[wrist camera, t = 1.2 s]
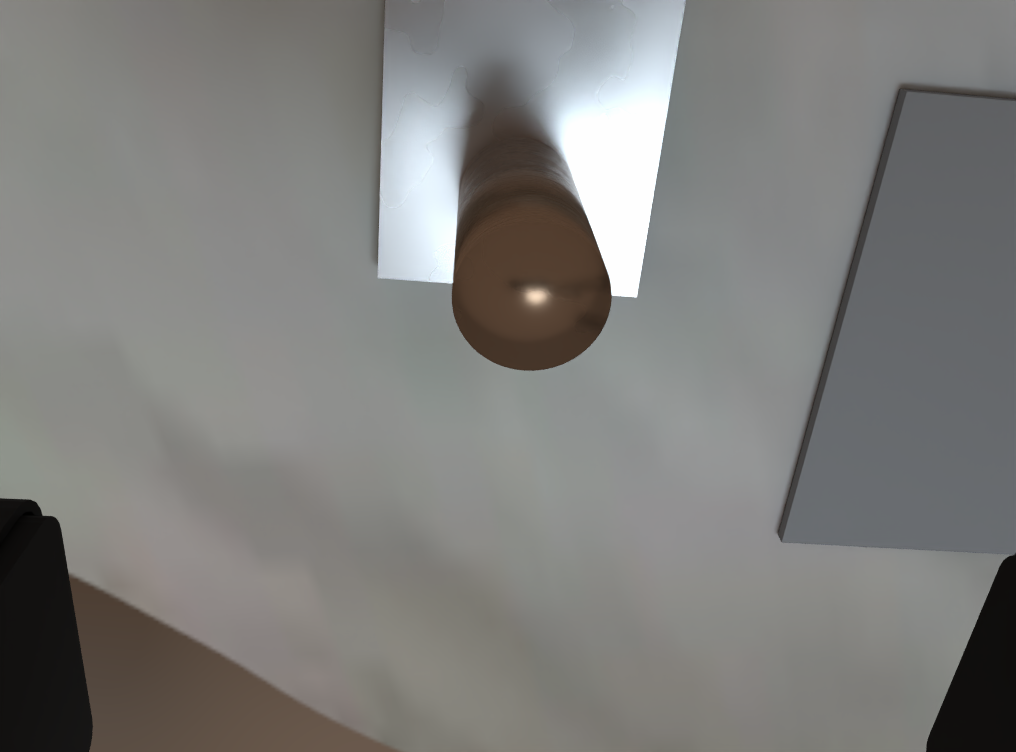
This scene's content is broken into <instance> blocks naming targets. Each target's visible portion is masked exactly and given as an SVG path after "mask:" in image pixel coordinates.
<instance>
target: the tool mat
mask: <svg viewBox="0 0 1016 752" xmlns="http://www.w3.org/2000/svg"><path fill="white" fill-rule="evenodd" d="M778 536H779V538H780V540H781V542H783V543H802V544H821V545H840V546H859V547H878V548H897V549H916V550H935V551H954V552H973V553H992V554H1011V555H1015V553H1016V99H1008V98H997V97H986V96H974V95H963V94H952V93H941V92H930V91H918V90H907V89H900V91H899V95H898V99H897V102H896V106H895V110H894V113H893V117H892V121H891V124H890V128H889V132H888V135H887V139H886V143H885V146H884V150H883V154H882V157H881V161H880V164H879V168H878V172H877V175H876V179H875V183H874V186H873V190H872V194H871V197H870V201H869V205H868V208H867V212H866V216H865V219H864V223H863V227H862V230H861V234H860V237H859V241H858V245H857V248H856V252H855V256H854V259H853V263H852V267H851V270H850V274H849V278H848V281H847V285H846V289H845V292H844V296H843V300H842V303H841V307H840V311H839V314H838V318H837V321H836V325H835V329H834V332H833V336H832V340H831V343H830V347H829V351H828V354H827V358H826V362H825V365H824V369H823V373H822V376H821V380H820V384H819V387H818V391H817V395H816V398H815V402H814V405H813V409H812V413H811V416H810V420H809V424H808V427H807V431H806V435H805V438H804V442H803V446H802V449H801V453H800V457H799V460H798V464H797V468H796V471H795V475H794V478H793V482H792V486H791V489H790V493H789V497H788V500H787V504H786V508H785V511H784V515H783V519H782V522H781V526H780V530H779V533H778Z"/></svg>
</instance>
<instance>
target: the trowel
mask: <svg viewBox="0 0 1016 752" xmlns="http://www.w3.org/2000/svg"><path fill="white" fill-rule="evenodd" d="M685 2H686V0H385V27H384V63H383V100H382V137H381V173H380V210H379V246H378V278H385V279H399V280H412V281H426V282H439V283H453V286H452V306H453V313H454V316H455V320H456V323H457V325H458V327H459V329H460V331H461V333H462V334H463V336H464V338H465V339H466V340H467V342H468V343H469V344H470V345H471V346H472V347H473V348H474V349H475V350H476V351H477V352H478V353H479V354H481V355H482V356H484V357H485V358H487V359H488V360H490V361H492V362H494V363H496V364H499V365H501V366H504V367H508V368H512V369H517V370H532V371H534V370H544V369H548V368H553V367H556V366H559V365H561V364H564V363H566V362H568V361H570V360H572V359H574V358H575V357H577V356H578V355H580V354H581V353H582V352H584V351H585V350H586V349H587V348H588V347H589V346H590V345H591V344H592V343H593V342H594V341H595V340H596V338H597V337H598V335H599V334H600V333H601V331H602V329H603V327H604V325H605V323H606V321H607V318H608V315H609V311H610V307H611V298H612V295H616V296H629V297H637V292H638V285H639V279H640V273H641V267H642V261H643V255H644V249H645V243H646V237H647V231H648V225H649V219H650V213H651V207H652V201H653V195H654V189H655V183H656V177H657V171H658V165H659V159H660V153H661V147H662V141H663V135H664V129H665V123H666V116H667V110H668V104H669V98H670V92H671V86H672V80H673V74H674V68H675V62H676V56H677V50H678V44H679V38H680V32H681V26H682V20H683V14H684V8H685Z"/></svg>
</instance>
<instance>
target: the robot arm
mask: <svg viewBox="0 0 1016 752" xmlns="http://www.w3.org/2000/svg"><path fill="white" fill-rule="evenodd" d="M92 728H93V725H92V715H91V709H90V703H89V696H88V691H87V684H86V678H85V673H84V666H83V660H82V654H81V648H80V642H79V636H78V630H77V624H76V617H75V612H74V605H73V600H72V593H71V587H70V581H69V575H68V569H67V562H66V556H65V550H64V544H63V538H62V532H61V528H60V524H59V522H58V520H57V519H56V518H55V517H53V516H42V512H41V509H40V507H39V506H38V504H37V503H36V502H34V501H32V500H26V499H2V498H0V752H89V750H90V746H91V739H92ZM926 752H1016V553H1015V555H1013V556H1009V557H1007V558H1006V559H1005V560H1003V562H1002V564H1001V565H1000V567H999V570H998V572H997V574H996V577H995V579H994V582H993V584H992V586H991V589H990V591H989V593H988V596H987V598H986V601H985V603H984V605H983V608H982V610H981V613H980V615H979V617H978V620H977V622H976V625H975V627H974V629H973V632H972V634H971V637H970V639H969V641H968V644H967V646H966V648H965V651H964V653H963V656H962V658H961V660H960V663H959V665H958V668H957V670H956V672H955V675H954V677H953V680H952V682H951V684H950V687H949V689H948V692H947V694H946V696H945V699H944V701H943V704H942V706H941V708H940V711H939V713H938V715H937V718H936V720H935V723H934V725H933V727H932V730H931V732H930V735H929V737H928V741H927V748H926Z"/></svg>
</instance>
